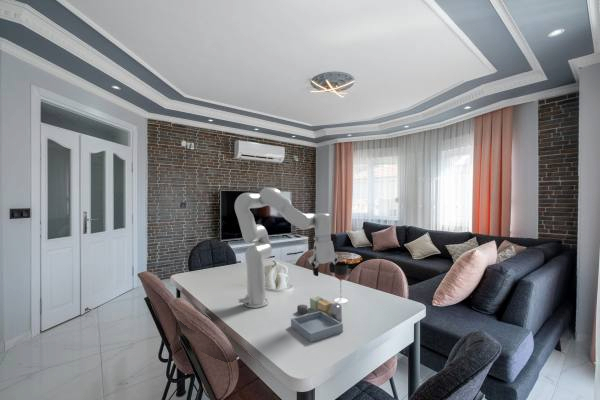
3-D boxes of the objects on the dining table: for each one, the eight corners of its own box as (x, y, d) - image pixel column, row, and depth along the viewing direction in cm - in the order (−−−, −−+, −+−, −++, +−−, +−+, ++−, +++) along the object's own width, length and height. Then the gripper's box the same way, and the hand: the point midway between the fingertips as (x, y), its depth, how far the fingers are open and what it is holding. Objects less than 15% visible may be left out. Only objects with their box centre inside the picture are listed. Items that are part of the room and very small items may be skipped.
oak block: (325, 317, 128) (324, 305, 128) (317, 313, 133) (317, 301, 133) (332, 315, 130) (332, 303, 130) (325, 311, 135) (325, 299, 135)
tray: (310, 342, 106) (310, 333, 106) (291, 326, 119) (290, 318, 119) (342, 331, 114) (342, 323, 114) (320, 317, 128) (320, 310, 128)
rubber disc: (300, 315, 131) (300, 309, 131) (295, 311, 135) (295, 305, 135) (309, 313, 133) (309, 307, 133) (304, 309, 138) (304, 303, 138)
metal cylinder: (335, 324, 121) (335, 308, 121) (328, 320, 125) (328, 305, 125) (343, 321, 123) (343, 306, 123) (337, 317, 127) (336, 302, 128)
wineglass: (339, 304, 143) (339, 266, 144) (330, 299, 151) (329, 263, 151) (351, 301, 147) (351, 264, 147) (342, 296, 155) (341, 261, 155)
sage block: (315, 311, 136) (315, 301, 136) (310, 307, 140) (310, 298, 140) (323, 308, 138) (323, 299, 138) (318, 305, 143) (318, 296, 143)
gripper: (312, 241, 125) (313, 278, 125) (341, 237, 134) (343, 272, 133) (304, 239, 131) (305, 275, 131) (332, 236, 140) (333, 269, 140)
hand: (324, 273), depth 132 cm, fingers open, 9 cm apart
